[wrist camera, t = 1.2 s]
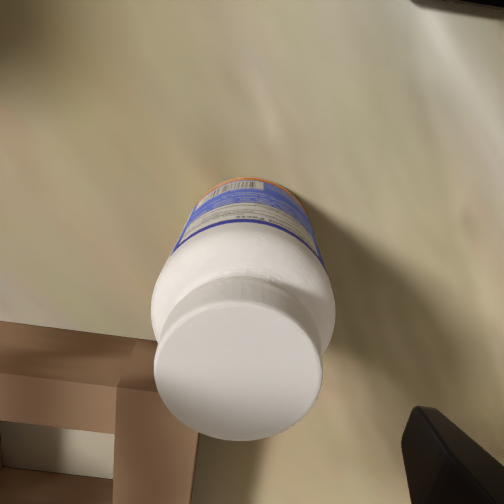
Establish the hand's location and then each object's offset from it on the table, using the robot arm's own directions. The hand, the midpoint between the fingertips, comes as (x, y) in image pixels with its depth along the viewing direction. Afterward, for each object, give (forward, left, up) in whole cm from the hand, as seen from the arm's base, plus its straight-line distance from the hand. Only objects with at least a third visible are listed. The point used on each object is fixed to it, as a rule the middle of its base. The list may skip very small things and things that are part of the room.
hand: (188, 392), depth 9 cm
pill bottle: (-1, +1, -11) cm, 11 cm away
